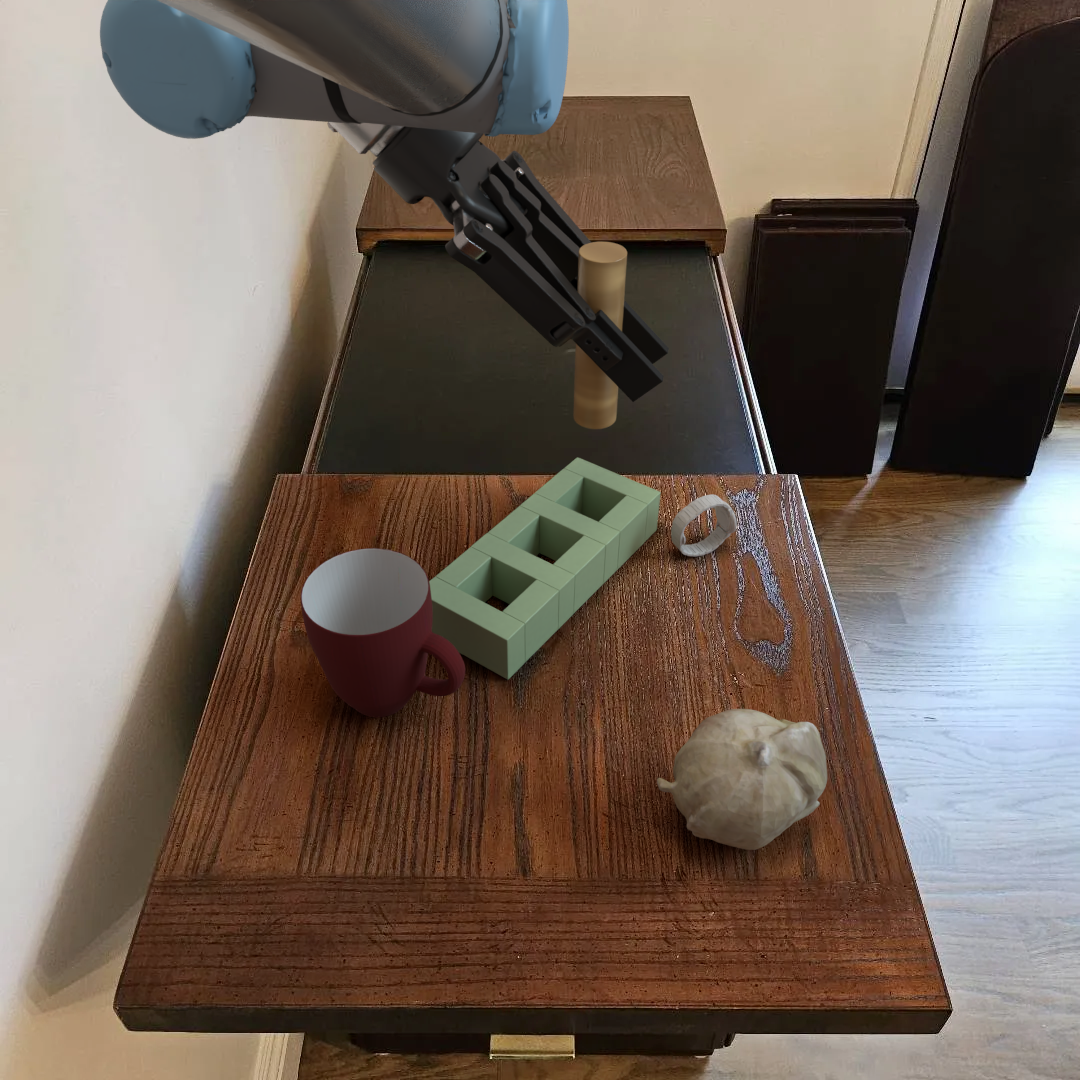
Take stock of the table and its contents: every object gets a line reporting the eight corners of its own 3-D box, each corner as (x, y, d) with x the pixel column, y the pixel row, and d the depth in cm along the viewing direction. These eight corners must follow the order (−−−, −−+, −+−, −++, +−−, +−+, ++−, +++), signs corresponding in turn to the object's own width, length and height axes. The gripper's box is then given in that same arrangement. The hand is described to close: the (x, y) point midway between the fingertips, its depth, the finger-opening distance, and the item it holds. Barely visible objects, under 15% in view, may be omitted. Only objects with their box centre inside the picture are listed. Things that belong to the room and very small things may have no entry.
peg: (601, 434, 72) (610, 266, 64) (564, 419, 74) (569, 253, 65) (624, 414, 74) (636, 249, 66) (588, 400, 76) (596, 237, 67)
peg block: (508, 680, 70) (507, 640, 67) (420, 631, 73) (416, 591, 71) (657, 530, 82) (661, 491, 80) (575, 494, 86) (577, 456, 83)
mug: (489, 673, 70) (485, 567, 64) (450, 763, 64) (441, 657, 58) (351, 642, 72) (333, 537, 66) (300, 727, 66) (276, 620, 60)
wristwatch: (734, 551, 80) (742, 502, 77) (681, 569, 79) (688, 520, 75) (714, 530, 82) (721, 482, 79) (662, 548, 81) (668, 499, 77)
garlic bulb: (787, 812, 64) (870, 711, 59) (774, 916, 57) (867, 813, 52) (657, 745, 65) (726, 638, 59) (628, 840, 58) (704, 729, 52)
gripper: (407, 116, 71) (626, 347, 79) (327, 205, 58) (596, 467, 67) (477, 39, 66) (700, 292, 75) (407, 118, 54) (683, 409, 63)
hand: (650, 374), depth 71 cm, fingers closed on peg, 3 cm apart
